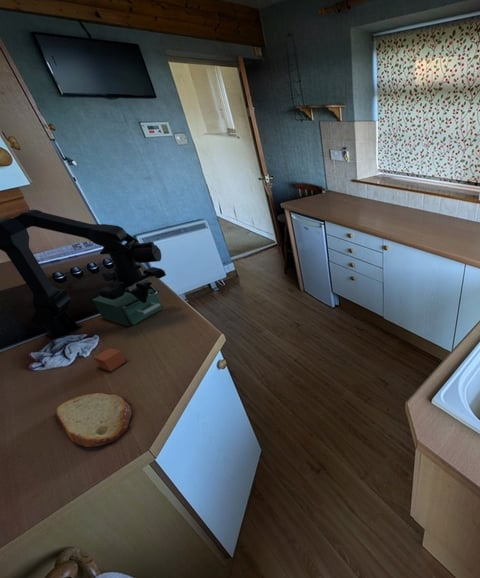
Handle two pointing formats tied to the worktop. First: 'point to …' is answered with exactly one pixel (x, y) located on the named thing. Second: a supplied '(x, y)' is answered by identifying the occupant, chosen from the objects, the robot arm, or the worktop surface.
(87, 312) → the worktop surface
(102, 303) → the cabinet
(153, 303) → the drawer
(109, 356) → the block
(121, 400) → the bread slice
